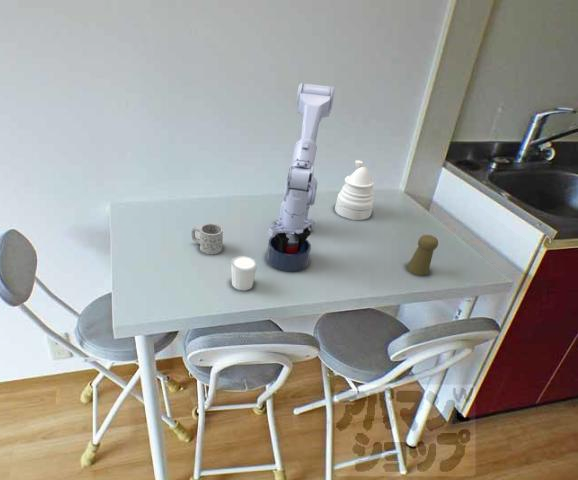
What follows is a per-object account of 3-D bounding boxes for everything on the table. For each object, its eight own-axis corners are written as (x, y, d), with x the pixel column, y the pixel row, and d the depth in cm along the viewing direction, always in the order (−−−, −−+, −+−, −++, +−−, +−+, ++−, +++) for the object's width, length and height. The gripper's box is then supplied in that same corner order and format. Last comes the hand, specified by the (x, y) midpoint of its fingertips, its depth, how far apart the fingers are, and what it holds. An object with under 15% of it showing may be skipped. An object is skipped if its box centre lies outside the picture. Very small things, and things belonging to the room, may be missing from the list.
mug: (225, 246, 129) (226, 227, 125) (215, 256, 124) (216, 237, 120) (197, 237, 132) (197, 218, 128) (186, 247, 127) (186, 228, 123)
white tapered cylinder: (228, 276, 117) (230, 255, 112) (253, 276, 117) (255, 255, 113) (230, 291, 111) (232, 270, 107) (256, 291, 112) (258, 270, 108)
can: (276, 255, 125) (278, 236, 121) (290, 251, 127) (293, 232, 123) (285, 263, 122) (288, 244, 118) (299, 259, 124) (302, 240, 120)
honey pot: (328, 212, 151) (339, 163, 140) (343, 200, 160) (354, 153, 149) (362, 223, 145) (376, 173, 134) (375, 210, 154) (389, 162, 143)
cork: (429, 277, 122) (443, 244, 115) (408, 273, 122) (420, 241, 116) (426, 265, 126) (439, 233, 120) (405, 262, 127) (417, 230, 120)
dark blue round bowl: (259, 254, 127) (260, 238, 123) (292, 245, 131) (295, 230, 128) (281, 275, 118) (283, 259, 115) (316, 265, 123) (319, 249, 120)
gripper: (280, 221, 109) (274, 265, 118) (325, 212, 115) (316, 253, 123) (266, 210, 114) (261, 252, 122) (309, 201, 120) (302, 242, 128)
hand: (288, 252), depth 123 cm, fingers closed on can, 5 cm apart
